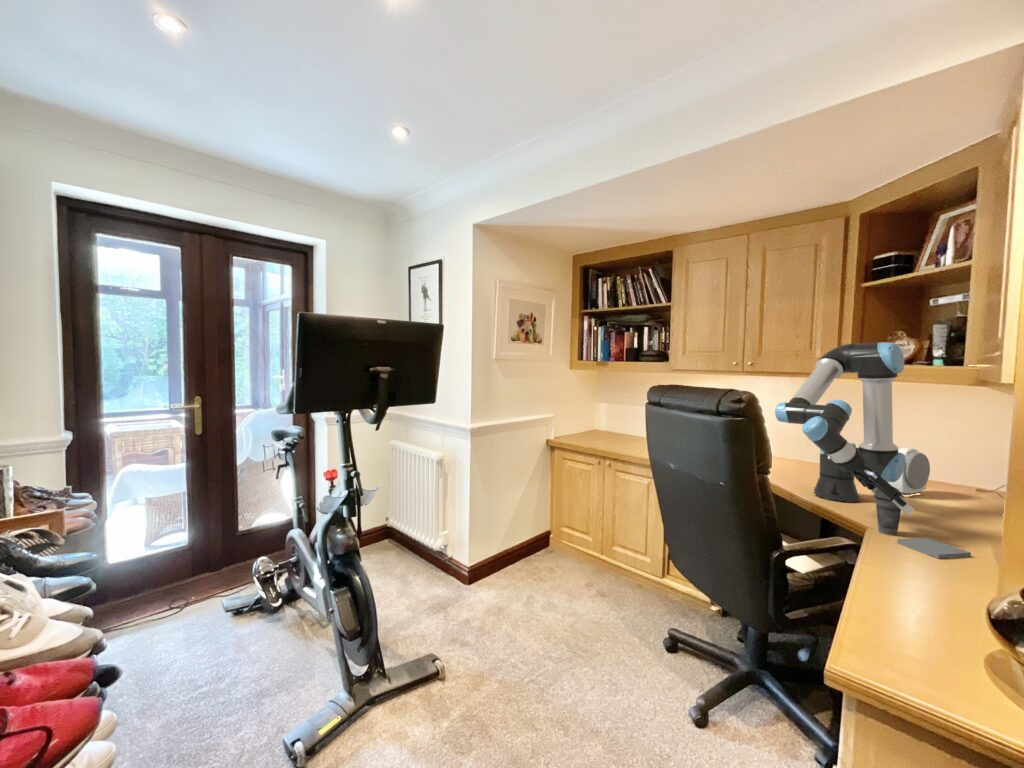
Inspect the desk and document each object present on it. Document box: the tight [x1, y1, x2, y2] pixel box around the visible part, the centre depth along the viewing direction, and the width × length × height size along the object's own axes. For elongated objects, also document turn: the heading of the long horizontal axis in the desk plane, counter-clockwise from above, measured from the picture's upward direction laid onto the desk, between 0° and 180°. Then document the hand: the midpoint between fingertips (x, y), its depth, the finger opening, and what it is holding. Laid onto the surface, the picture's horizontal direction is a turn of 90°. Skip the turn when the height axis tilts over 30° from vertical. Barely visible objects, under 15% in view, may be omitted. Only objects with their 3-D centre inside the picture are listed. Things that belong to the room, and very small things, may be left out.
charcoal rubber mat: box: [896, 537, 972, 559], centre depth 124 cm, size 11×11×1 cm
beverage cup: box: [873, 472, 904, 537], centre depth 137 cm, size 7×7×20 cm
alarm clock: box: [888, 447, 931, 495], centre depth 181 cm, size 18×8×20 cm, turn 110°
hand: (900, 507), depth 136 cm, fingers open, 9 cm apart
